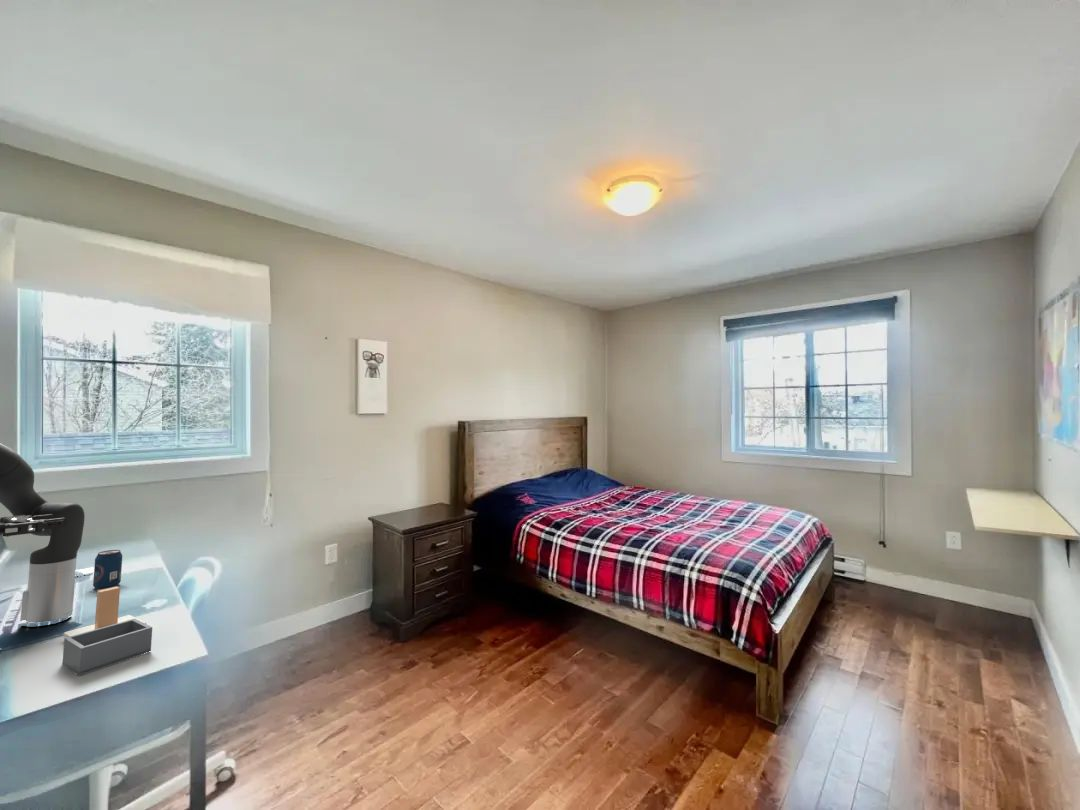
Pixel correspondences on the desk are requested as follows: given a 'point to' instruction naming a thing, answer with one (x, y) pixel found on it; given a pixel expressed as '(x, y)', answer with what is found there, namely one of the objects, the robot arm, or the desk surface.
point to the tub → (106, 646)
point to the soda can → (107, 569)
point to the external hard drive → (86, 571)
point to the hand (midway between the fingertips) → (59, 520)
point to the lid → (104, 612)
